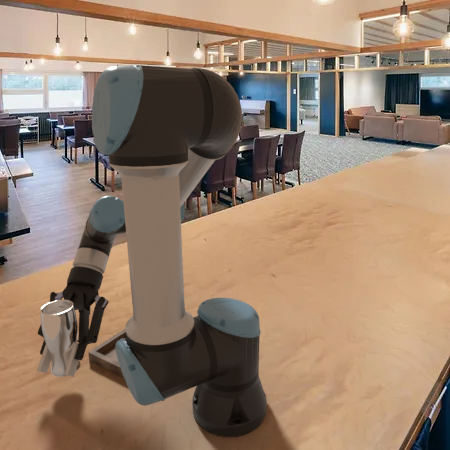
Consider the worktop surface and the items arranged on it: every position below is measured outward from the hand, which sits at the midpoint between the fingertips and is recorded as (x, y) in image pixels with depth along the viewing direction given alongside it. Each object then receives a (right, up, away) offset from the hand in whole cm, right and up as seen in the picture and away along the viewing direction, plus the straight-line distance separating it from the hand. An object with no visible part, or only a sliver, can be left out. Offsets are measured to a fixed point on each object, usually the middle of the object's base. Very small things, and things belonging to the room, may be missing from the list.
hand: (55, 373), depth 83 cm
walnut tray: (+16, -1, +16) cm, 23 cm away
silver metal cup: (+1, 0, +4) cm, 4 cm away
